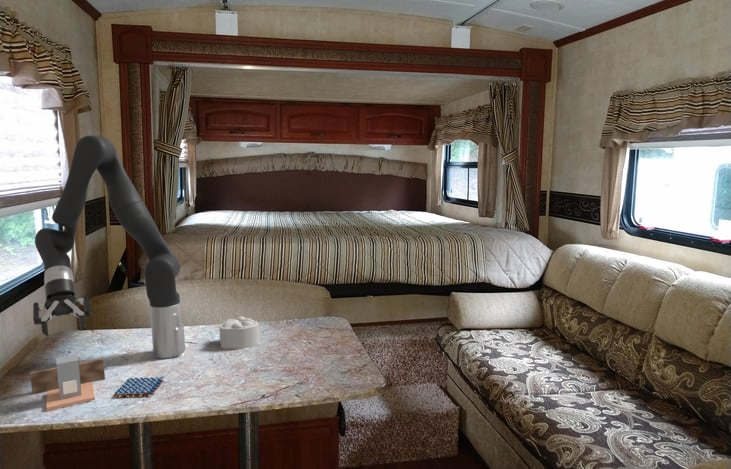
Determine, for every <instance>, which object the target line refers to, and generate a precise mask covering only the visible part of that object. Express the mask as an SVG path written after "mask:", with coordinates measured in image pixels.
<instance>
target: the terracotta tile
mask: <svg viewBox="0 0 731 469" xmlns="http://www.w3.org/2000/svg"><path fill="white" fill-rule="evenodd" d="M94 391H95V390H94V385H93V382H88V383H83V384H81V394H82V395H80V396H76V397H71V398H67V399H62V400H60V393H59V389H55V390H50V391H46V412H49V411H54V410H59V409H58V408H60V409H63V408H62V407H64V408H67V407H66V406H69V407H71V406H70V405H73V406H75V405H74V404H77V405H80V404H79V403H82V404H84V403H83V402H86V403H88V402H87V401H91V402H93V401H92V400H95V401H96V398H95V397H96V395H95V392H94Z"/></svg>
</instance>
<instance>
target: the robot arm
mask: <svg viewBox="0 0 731 469" xmlns="http://www.w3.org/2000/svg"><path fill="white" fill-rule="evenodd" d="M117 151H118V150H116V147H115V146H114V144H113V142H111V140H109V139H108V138H106V137H103V136H101V135H99V136H98V135H86V136H83V137H81V138H79V139H78V142H77V143H76V145H75V149H74V151H73V156H72V160H71V165H70V170H69V172H68V175H67V178H66V182H65V186H64V187H63V190H62V192H61V195H60V198H59V200H58V202H57V204H56V206H55V208H54V211H53V213H52V215H51V219H52V221H53V222H54V223H56V224H57V225H59V226H62V227H63V230H58V229H54V228H49V227H48V228H47V227H44V228H41V229H40V230H38V231H37V233H36V234H35V236H34V244H35V248H36V251H37V252H38V254H39V256H40V258H41V260H42V263H43V271H44V279H43V280H44V290H45V292H44V293H45V302H43V303H39V302H38V301H37V302H34V303H33V307H32V308H33V310H32V311H33V312H32V314H33V317H32V319H33V324H34V325H35V326H37V325H41V333H42V335H43V336H45V337H49V325H48V324H49V322H50V321H51V320H53V318H54V317H55V316H56V317H60V316H62V315H63V316H64V315H65V316H67V315H70V314H72V315H73V316H75V317H77V318H78V319H79V320H78V322H79V329H80V330H79V331H80V332H81V331H84V329H86V327H87V326H86V318H88V317H91V316H92V308H91V305H90V300H89V296H88V295H84V296H83V297H80V298H78V297H77V296H76V287H75V286H76V285H75V281H74V280H75V279H74V274H73V271H72V263H71V258H70V256H69V255H68V253H69V252H71V251H72V250H73V248H74V246H75V239H76V230H77V224H78V221H79V219H80V217H81V215H82V213H83V210H84V208H85V205H86V202H87V196H88V188H89V186H90V181H91V179H92V177H93V175H94V173H95V171H96V170H97V172H98V173H99V175H100V177H101V178H102V180H103V182H104V184H105V187H106V190H107V195H108V196H107V197H108V200H109V203H110V204H109V205H110V207H111V210H112V212H113V213H114V215H115V216H116V219H117V221H118V223H119V224H120V225H121V226H122V228H123V229H124V230H125V232H127V233H128V234H129V235H130V236H131V238H133V240H135V241H136V243H138V244H139V245H140V246H141V248H142V250H143V251H144V253H145V255H146V258H147V259H148V262H147V263H146V264H145V268H144V281H145V290H146V295H147V299H148V301H149V311H150V312H149V313H150V325H151V337H152V352H153V357H154V358H156V359H170V358H176V357H180V356H181V355H182V354H183V353H184V351H185V350H186V339H185V337H186V336H185V325H184V322H182V315H181V314H182V313H181V302H180V301H181V300H180V298H181V297H180V294H179V292H177V285H176V278H177V277H178V276H179V274H180V271H181V265H180V261H179V259H178V258H177V256H176V255H175V253H174V252H173V251H172V249H171V247H169V245H168V244H167V242H166V240H165V239H164V237H163V236H162V234H161V232H160V230H159V228H158V226H157V224H156V222H155V221H154V219H153V217H152V215H151V213H150V211H149V210H148V207H147V205H146V204H145V202H144V201H143V199H142V196H140V194H139V192H138V191H137V188H136V187H135V186H134V183H133V182H132V181H131V179H130V177H129V175H128V174H127V172H126V170H125V168H124V166H123V164H122V161H121V159H120V156H119V155H118V152H117ZM79 304H80V305H81V306H84V309H85V310H84V311H82V310H81V309H80V308H79V307H78V305H79ZM43 309H46V311H45V314H44V315H43V316H42V318H41V317H40V312H42V311H43Z"/></svg>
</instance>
